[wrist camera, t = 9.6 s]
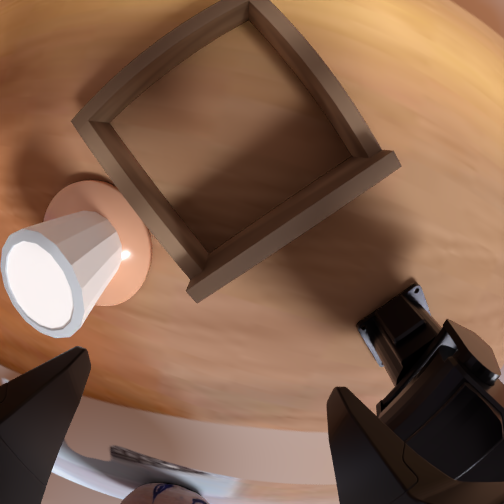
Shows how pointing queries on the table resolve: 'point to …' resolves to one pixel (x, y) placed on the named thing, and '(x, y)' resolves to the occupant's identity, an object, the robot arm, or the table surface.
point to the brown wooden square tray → (280, 218)
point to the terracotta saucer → (125, 223)
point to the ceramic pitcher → (163, 495)
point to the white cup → (60, 270)
